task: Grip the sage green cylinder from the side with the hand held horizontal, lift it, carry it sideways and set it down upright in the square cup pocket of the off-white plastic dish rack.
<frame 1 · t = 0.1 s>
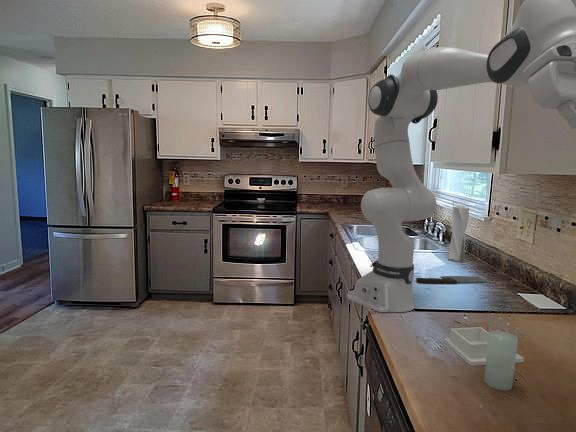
cleaver: (449, 282, 155), on the countertop
sage green cylinder: (497, 383, 85), on the countertop
skyscraper: (456, 260, 187), on the countertop
dish rack: (474, 352, 98), on the countertop
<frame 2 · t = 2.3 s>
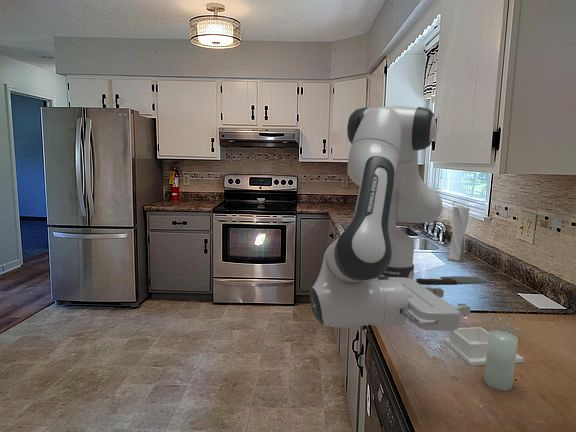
hand: (454, 300, 80), 20 cm above the countertop, tool horizontal, fingers open, 8 cm apart
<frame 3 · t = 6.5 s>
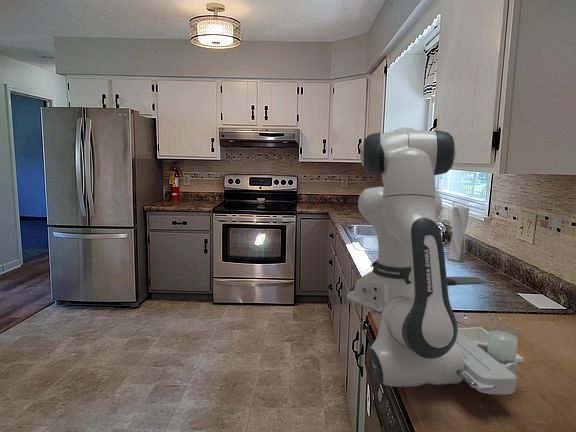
hand: (504, 357, 84), 6 cm above the countertop, tool horizontal, fingers closed on sage green cylinder, 5 cm apart
sage green cylinder: (497, 383, 85), on the countertop, touching gripper
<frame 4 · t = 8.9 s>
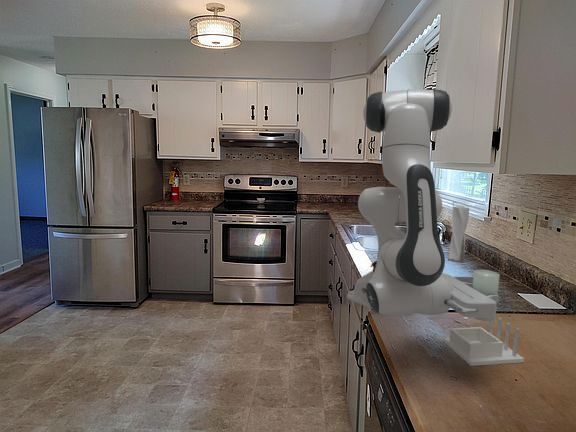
hand: (487, 292, 94), 17 cm above the countertop, tool horizontal, fingers closed on sage green cylinder, 5 cm apart
sage green cylinder: (481, 316, 94), point 10 cm above the countertop, touching gripper
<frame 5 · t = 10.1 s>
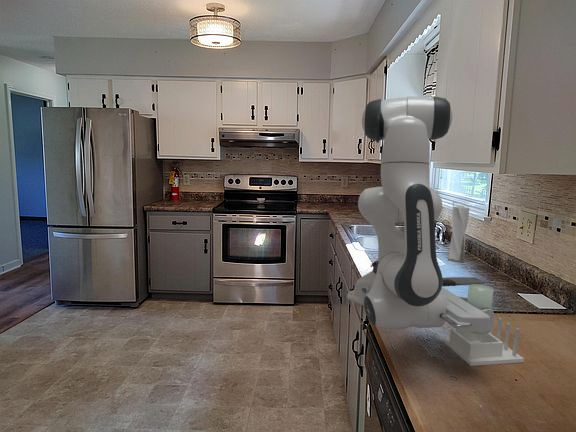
hand: (482, 306, 96), 12 cm above the countertop, tool horizontal, fingers closed on sage green cylinder, 5 cm apart
sage green cylinder: (476, 329, 97), point 6 cm above the countertop, touching gripper
when the fingers open (8 cm above the countertop, at t = 11.2 s): sage green cylinder drops 1 cm, resting on dish rack.
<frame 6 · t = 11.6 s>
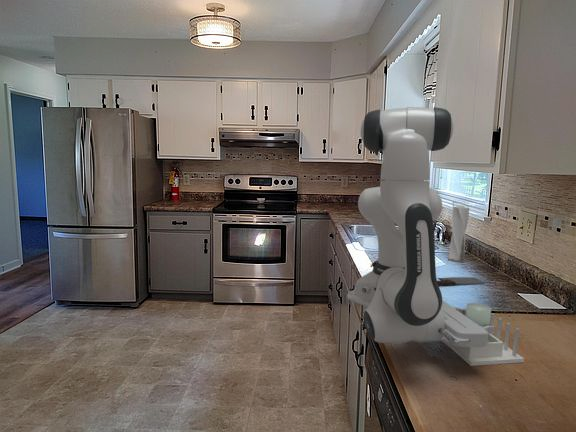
hand: (480, 320, 97), 8 cm above the countertop, tool horizontal, fingers open, 8 cm apart
sage green cylinder: (474, 348, 98), point 1 cm above the countertop, touching dish rack
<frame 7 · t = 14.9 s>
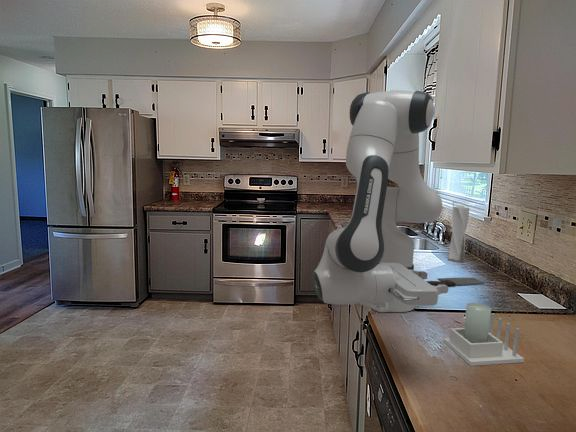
hand: (435, 281, 93), 19 cm above the countertop, tool horizontal, fingers open, 8 cm apart
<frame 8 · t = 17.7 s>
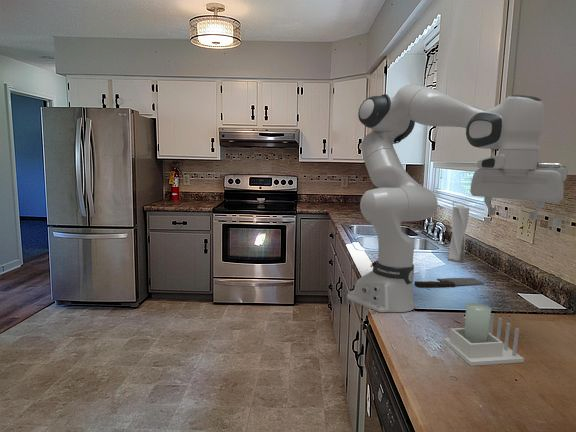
hand: (511, 216, 98), 34 cm above the countertop, tool pointing down, fingers open, 8 cm apart
at the end: sage green cylinder 0.0 cm off-centre on the dish rack, point 1.0 cm above the dish rack's base; sage green cylinder tilted 0°; the gripper is holding nothing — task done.
